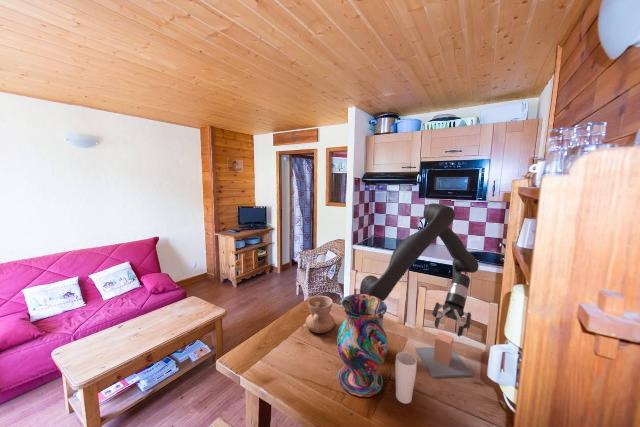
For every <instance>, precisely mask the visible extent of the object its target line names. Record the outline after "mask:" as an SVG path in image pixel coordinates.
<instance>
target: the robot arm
mask: <svg viewBox="0 0 640 427" xmlns="http://www.w3.org/2000/svg"><path fill="white" fill-rule="evenodd" d="M455 217H456V211H455V210H454V208H453V207H451V206H448V205H444V204H440V203H436V202H435V203H433V202H432V203H430V204H427V205H426V207H425V208H424V210H423V218H424V220H425V222H427V224H426V226H424V227H423V228H422V229H421V230H419V231H417V232H415V233H413V234H411V235H409V236H407V237H405V238H404V239H402V240H401V242H400V243H399V245H397V246H396V247H395V249H394V250H393V252H392V254H391V257H390V260H389V264H388V266H387V268H386V270H385V271H384V273H382V275H381V276H380V277H379V278H378V277H377V276H375V275H372V274H371V275H370V274H369V275H366V276H365V277H364V278H363V279H362V280H361V282H360V287H359V294H366V295H371V296H374V297H377V298H379V299H381V300H382V301H383V302H384V301H386V299H388V296H390V294H391V293H392V291H393V290H394V288H395V287H396V285H397V284H398V283H399V281H400V280H401V279H402V278H403V276H404V275H405V274H406V273H407V272H408V270H409V269H410V268H411V266H413V265H414V264H415V262H417V260H418V259H419V258H420V256H421V255H422V254H423V253H424V251H425V250H427V248H428V247H429V246H430V245H431V244H432V243H433V242H434V241H435V240H436V239H437V238H438V237H439V238H440V239H441V240H440V241H442V243H443V245H444V246H445V248H446V249H447V251H448V253H449V254H450V256H451V258H452V259H453V260H452V279H451V280H450V281H451V282H450V285H449V287H448V291H447V293H446V297H445V300H444V303H443V304H441V303H440V302H436V303H435V304H434V305H435V306H434V308H433V311H432V316H433V317H434V318H435V320H434V324H433V325H434V327H435V328H436V329H439V326H440V322H441V319H443V318H445V317H446V318H448V319H452V320H457V322H458V323H459V327H458V330H457V331H458V332H457V336H458V337H459V338H460V337H461V336H463V333H464V329H470V327H471V322H472V313H471V312H466V311H464V310H465V306H466V302H467V300H468V294H469V293H468V292H469V287H470V283H471V279H470V277H469V276H468V275H466V274H465V273H470V274H473V273H476V272H478V270H479V261H478V260H477V259H476V257H475V256H474V255H473V254H472V253H471V252H470V251H469V250H467V248H466V246H465V245H464V243H463V240H462V239H461V238H460V237H459V236H458V235H457V233H455V231H453V229H451V228H450V227H449V226H451V224H452V223H453V221H454V219H455ZM441 309H442V311H441V312H440V313H438V312H439V310H441ZM463 316H465V319H466V322H465V323H463V321H462V320H463V319H462V317H463ZM379 321H380V323H381V325H382V327H383V328H384V315H382V316H381V317H380V320H379Z"/></svg>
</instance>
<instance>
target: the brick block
mask: <svg viewBox="0 0 640 427" xmlns="http://www.w3.org/2000/svg"><path fill="white" fill-rule="evenodd" d="M434 347H435V348H434V361H436V362H438V363H440V364H443V365H445V366H447V367H448V366H449V364H450V361H451V359H452V350H453V347H454V336H451V335H449V334H446V333H443V332H441V331H438V333H437V335H436V336H435V339H434Z"/></svg>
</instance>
